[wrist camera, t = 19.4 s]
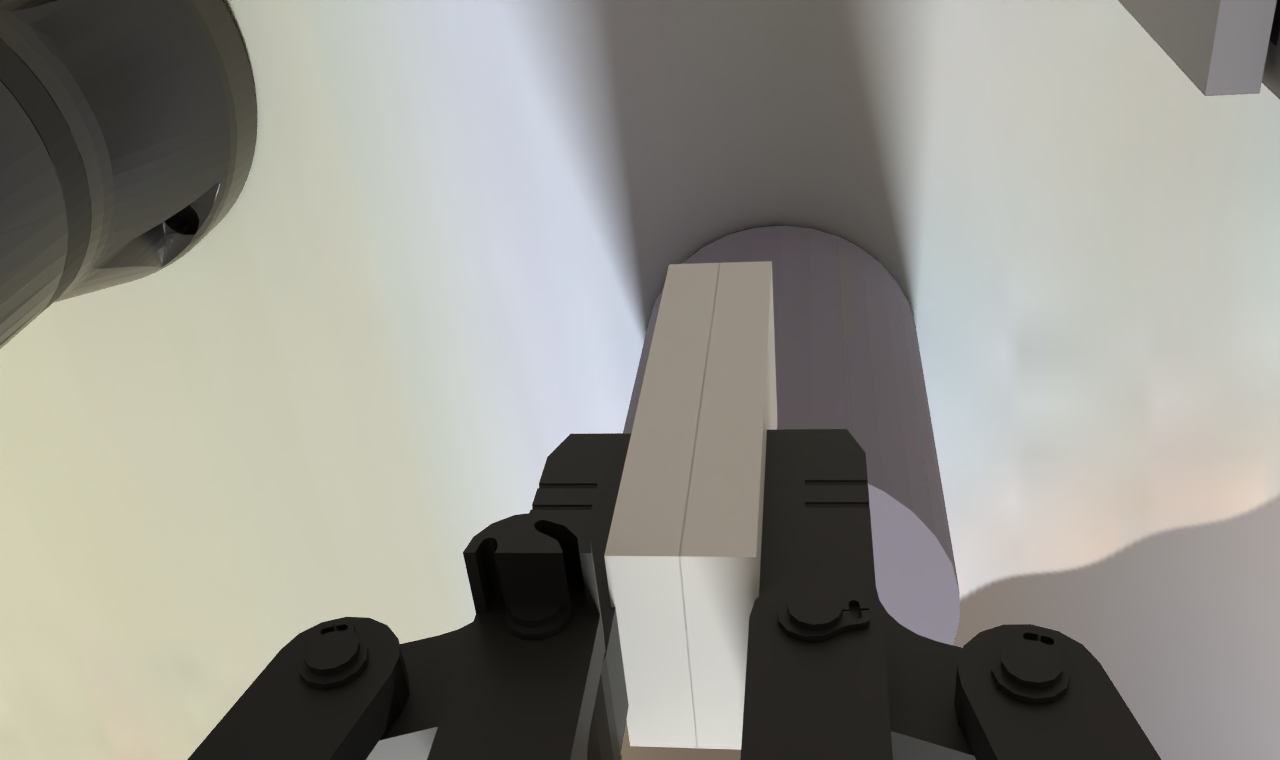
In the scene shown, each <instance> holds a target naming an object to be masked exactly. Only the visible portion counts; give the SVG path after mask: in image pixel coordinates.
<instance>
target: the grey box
mask: <svg viewBox="0 0 1280 760" xmlns="http://www.w3.org/2000/svg"><path fill="white" fill-rule="evenodd" d="M1262 83H1263V84H1264V85H1265V86H1266V87H1267V88H1268V89H1269V90H1270V91H1271V92H1272V93H1274V94H1275V95H1276V96H1277V97H1278V98H1279V99H1280V0H1277V2H1276V7H1275V13H1274V18H1273V23H1272V29H1271V34H1270V39H1269V45H1268V50H1267V55H1266V61H1265V66H1264V72H1263V77H1262Z"/></svg>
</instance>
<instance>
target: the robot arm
mask: <svg viewBox="0 0 1280 760" xmlns="http://www.w3.org/2000/svg"><path fill="white" fill-rule="evenodd" d="M256 136H257V105H256V94H255V88H254V82H253V77H252V73H251V68H250V64H249V61H248V58H247V54H246V51H245V48H244V45H243V43H242V40H241V37H240V35H239V32H238V30H237V28H236V26H235V23H234V21H233V19H232V17H231V15H230V13H229V11H228V9H227V7H226V6H225V4H224V2H223V0H0V349H1V348H2V347H3V346H4V345H5V344H6V343H7V342H9V341H10V340H11V339H12V338H13V337H14V336H15V335H17V334H18V333H19V332H20V331H21V330H22V329H23V328H25V327H26V326H27V325H28V324H29V323H30V322H31V321H33V320H34V319H35V318H36V317H37V316H38V315H39V314H40V313H41V312H43V311H44V310H45V309H46V308H47V307H49V306H50V305H51V304H52V303H53V302H57V301H61V300H64V299H68V298H72V297H75V296H79V295H83V294H86V293H90V292H94V291H97V290H101V289H105V288H108V287H112V286H115V285H119V284H123V283H126V282H130V281H133V280H137V279H140V278H143V277H145V276H148V275H150V274H153V273H155V272H157V271H159V270H161V269H163V268H164V267H166V266H168V265H170V264H172V263H173V262H175V261H176V260H178V259H179V258H181V257H182V256H184V255H185V254H186V253H187V252H189V251H190V250H191V249H192V248H193V247H194V246H195V245H196V244H198V243H199V242H200V241H201V240H202V239H203V238H204V237H205V236H206V235H207V234H208V233H209V232H210V231H211V230H212V229H213V228H214V227H215V226H216V225H217V224H218V223H219V222H220V221H221V220H222V219H223V218H224V217H225V215H226V214H227V213H228V212H229V210H230V209H231V208H232V206H233V205H234V203H235V202H236V200H237V198H238V196H239V195H240V193H241V191H242V189H243V187H244V184H245V182H246V180H247V177H248V174H249V171H250V168H251V165H252V160H253V156H254V151H255V145H256ZM532 506H533V509H532V510H531V511H530V513H529V514H521V515H514V516H511V517H509V518H506V519H503V520H501V521H498V522H495V523H493V524H491V525H489V526H488V527H487V528H485V529H484V530H482V531H481V532H480V533H478V534H477V535H476V536H474V537H473V539H472V540H471V542H470V543H469V545H468V546H467V548H466V549H465V550H464V552H463V555H464V559H465V564H466V569H467V573H468V578H469V582H470V587H471V592H472V596H473V601H474V605H475V610H476V616H475V619H474V622H472V623H470V624H468V625H466V626H464V627H462V628H460V629H458V630H455V631H452V632H449V633H446V634H442V635H439V636H435V637H430V638H426V639H422V640H417V641H413V642H408V643H404V644H399V640H398V638H397V637H396V635H395V634H394V633H393V632H392V631H391V629H390V628H389V627H388V626H387V625H385V624H383V623H380V622H378V621H375V620H373V619H371V618H358V617H344V618H340V619H335V620H331V621H326V622H322V623H320V624H318V625H316V626H314V627H312V628H310V629H308V630H306V631H304V632H302V633H300V634H298V635H297V636H296V637H295V638H294V639H293V640H291V641H290V642H289V643H288V644H287V645H286V646H285V647H283V648H282V649H281V650H280V651H279V653H278V654H277V655H276V656H275V657H274V658H273V660H272V661H271V662H270V663H269V664H268V666H267V667H266V668H265V669H264V670H263V671H262V673H261V674H260V675H259V676H258V677H257V678H256V680H255V681H254V682H253V683H252V684H251V686H250V687H249V688H248V689H247V690H246V691H245V693H244V694H243V695H242V696H241V697H240V698H239V700H238V701H237V702H236V703H235V704H234V706H233V707H232V708H231V709H230V710H229V711H228V713H227V714H226V715H225V716H224V717H223V719H222V720H221V721H220V722H219V723H218V724H217V726H216V727H215V728H214V729H213V730H212V731H211V733H210V734H209V735H208V736H207V737H206V739H205V740H204V741H203V742H202V743H201V744H200V746H199V747H198V748H197V749H196V750H195V751H194V753H193V754H192V755H191V756H190V757H189V759H188V760H622V756H621V748H622V742H623V736H624V730H625V724H626V719H627V726H628V733H629V740H630V746H648V747H679V748H710V749H741V760H1161V758H1160V757H1159V755H1158V754H1157V752H1156V751H1155V749H1154V747H1153V746H1152V744H1151V743H1150V741H1149V740H1148V738H1147V736H1146V735H1145V733H1144V732H1143V730H1142V729H1141V727H1140V725H1139V724H1138V722H1137V721H1136V719H1135V718H1134V716H1133V714H1132V713H1131V711H1130V710H1129V708H1128V707H1127V705H1126V703H1125V702H1124V700H1123V699H1122V697H1121V696H1120V694H1119V692H1118V691H1117V689H1116V688H1115V686H1114V685H1113V683H1112V681H1111V680H1110V678H1109V677H1108V675H1107V674H1106V672H1105V670H1104V669H1103V668H1102V666H1101V664H1100V663H1099V662H1098V661H1097V659H1096V658H1095V657H1094V656H1093V655H1092V654H1091V653H1090V652H1089V651H1088V650H1087V649H1086V648H1085V647H1084V646H1083V645H1082V644H1080V643H1078V642H1076V641H1075V640H1073V639H1071V638H1069V637H1067V636H1066V635H1064V634H1062V633H1060V632H1058V631H1054V630H1051V629H1047V628H1043V627H1039V626H1035V625H1002V626H998V627H995V628H992V629H989V630H986V631H983V632H980V633H979V634H978V635H976V636H975V637H974V638H973V639H971V640H970V641H969V642H968V643H967V644H966V645H964V647H963V648H961V647H957V646H953V645H949V644H945V643H941V642H938V641H935V640H932V639H929V638H926V637H923V636H921V635H918V634H916V633H914V632H913V631H911V630H909V629H907V628H906V627H904V626H902V625H901V624H899V623H898V622H897V621H896V620H895V619H894V618H893V617H892V616H891V615H889V614H888V613H887V611H886V609H885V608H884V606H883V605H882V603H881V602H880V600H879V597H878V593H877V589H876V581H875V568H874V555H873V542H872V529H871V516H870V507H869V490H868V477H867V464H866V453H865V451H864V450H863V449H862V448H861V446H860V445H859V444H858V442H857V441H856V440H855V439H854V437H853V436H852V435H851V434H850V432H849V431H848V430H847V429H781V430H777V394H776V366H775V337H774V309H773V281H772V261H762V262H729V263H695V264H669V267H668V271H667V276H666V280H665V285H664V289H663V294H662V298H661V303H660V307H659V312H658V316H657V321H656V325H655V330H654V334H653V339H652V343H651V348H650V352H649V357H648V361H647V366H646V370H645V375H644V379H643V384H642V388H641V393H640V397H639V402H638V406H637V411H636V415H635V420H634V424H633V429H632V433H626V434H570V435H569V436H568V437H567V438H566V439H565V440H564V441H563V442H562V443H561V444H560V445H559V446H558V447H557V448H556V449H555V450H554V451H553V452H552V453H551V454H550V455H549V456H548V457H547V461H546V464H545V467H544V470H543V473H542V476H541V479H540V482H539V489H537V492H536V495H535V498H534V501H533V504H532Z"/></svg>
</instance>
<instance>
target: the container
mask: <svg viewBox="0 0 1280 760" xmlns="http://www.w3.org/2000/svg"><path fill="white" fill-rule="evenodd" d="M762 261H772V281H773V309H774V337H775V366H776V394H777V430H781V429H847V430H848V431H849V432H850V434H851V435H852V436H853V437H854V439H855V440H856V441H857V442H858V444H859V445H860V446H861V448H862V449H863V450H864V451H865V453H866V464H867V477H868V490H869V507H870V516H871V529H872V542H873V555H874V568H875V581H876V589H877V593H878V597H879V600H880V602H881V603H882V605H883V606H884V608H885V609H886V611H887V613H888V614H889V615H891V616H892V617H893V618H894V619H895V620H896V621H897V622H898V623H899V624H901V625H902V626H904V627H906V628H907V629H909V630H911V631H913V632H914V633H916V634H918V635H921V636H923V637H926V638H929V639H932V640H935V641H938V642H941V643H945V644H949V645H953V643H954V639H955V636H956V632H957V628H958V624H959V620H960V610H959V609H960V607H959V606H960V605H959V587H958V581H957V574H956V568H955V562H954V556H953V550H952V544H951V538H950V532H949V526H948V520H947V514H946V508H945V502H944V496H943V490H942V484H941V478H940V472H939V466H938V460H937V454H936V448H935V442H934V436H933V430H932V424H931V418H930V411H929V405H928V399H927V393H926V387H925V381H924V375H923V369H922V363H921V357H920V351H919V345H918V339H917V333H916V327H915V323H914V319H913V315H912V311H911V307H910V304H909V302H908V301H907V299H906V297H905V295H904V293H903V291H902V290H901V288H900V286H899V284H898V283H897V281H896V280H895V279H894V278H893V277H892V276H891V274H890V273H889V272H888V271H887V270H886V268H885V267H884V266H883V265H882V264H881V263H880V262H879V261H877V260H876V259H875V258H873V257H872V256H871V255H870V254H868V253H867V252H866V251H864V250H863V249H862V248H860V247H858V246H856V245H854V244H852V243H850V242H849V241H847V240H845V239H843V238H841V237H839V236H837V235H833V234H829V233H826V232H822V231H819V230H815V229H812V228H804V227H793V226H783V225H781V226H770V227H759V228H752V229H748V230H744V231H740V232H736V233H733V234H729V235H726V236H724V237H722V238H720V239H718V240H716V241H714V242H712V243H710V244H708V245H706V246H704V247H703V248H701V249H700V250H699V251H697V252H696V253H695V254H693V255H692V256H691V257H689V258H688V259H687V260H685V261H684V262H683V263H682V264H695V263H729V262H762ZM664 285H665V284H664ZM663 289H664V286H663V288H662V290H661V292H660V293H659V295H658V297H657V299H656V300H655V303H654V306H653V310H652V313H651V317H650V320H649V324H648V328H647V332H646V337H645V341H644V345H643V349H642V354H641V358H640V362H639V367H638V371H637V375H636V380H635V384H634V388H633V392H632V397H631V401H630V405H629V410H628V414H627V418H626V423H625V427H624V431H623V434H626V433H632V429H633V424H634V420H635V415H636V411H637V406H638V402H639V397H640V393H641V388H642V384H643V379H644V375H645V370H646V366H647V361H648V357H649V352H650V348H651V343H652V339H653V334H654V330H655V325H656V321H657V316H658V312H659V307H660V303H661V298H662V294H663Z"/></svg>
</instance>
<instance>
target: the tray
mask: <svg viewBox="0 0 1280 760" xmlns="http://www.w3.org/2000/svg"><path fill="white" fill-rule="evenodd" d="M1118 1H1119V2H1120V3H1121V4H1122V5H1123V6H1124V7H1125V8H1126V9H1127V11H1128V12H1129V13H1130V14H1131V15H1132V16H1133V17H1134V18H1135V19H1136V21H1137V22H1138V23H1139V24H1140V25H1141V26H1142V27H1143V28H1144V29H1145V30H1146V32H1147V33H1148V34H1149V35H1150V36H1151V37H1152V38H1153V39H1154V40H1155V41H1156V43H1157V44H1158V45H1159V46H1160V47H1161V48H1162V49H1163V50H1164V51H1165V52H1166V54H1167V55H1168V56H1169V57H1170V58H1171V59H1172V60H1173V61H1174V62H1175V63H1176V65H1177V66H1178V67H1179V68H1180V69H1181V70H1182V71H1183V72H1184V73H1185V74H1186V76H1187V77H1188V78H1189V79H1190V80H1191V81H1192V82H1193V83H1194V84H1195V85H1196V87H1197V88H1198V89H1199V90H1200V91H1201V92H1202V93H1203V94H1204V95H1205V96H1214V95H1235V94H1256V93H1260V88H1261V82H1262V77H1263V72H1264V66H1265V61H1266V55H1267V50H1268V45H1269V39H1270V34H1271V29H1272V23H1273V18H1274V13H1275V7H1276V2H1277V0H1118Z"/></svg>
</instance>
